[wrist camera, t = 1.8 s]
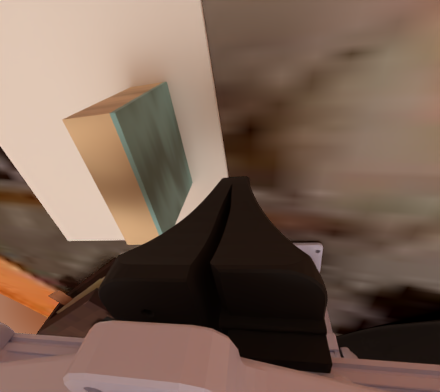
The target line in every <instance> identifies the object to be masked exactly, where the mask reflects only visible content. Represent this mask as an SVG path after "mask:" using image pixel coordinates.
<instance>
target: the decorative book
mask: <svg viewBox="0 0 440 392" xmlns="http://www.w3.org/2000/svg"><path fill="white" fill-rule="evenodd" d="M115 260H116V258H114V259H113V260H112V261H110V262H109V263H107V264H106V265H105V266H103V267H102V268H101V269H99V270H98V271H97V272H95V273H94V274H93V275H91V276H90V277H89V278H87V279H86V280H84V281H83V282H82V283H80V284H79V285H78V286H76V287H75V288H74V289H72V290H71V291H70V292H68V293H67V294H65V293H63V292H61V291H60V290H58V291H56V292H54V293H52V294H51V295H49V297H51V298H52V299H54V300H56V301H57V302H59V304H58V305H57V306H56V308H55V309H54V310H53V312H52V313H51V315H50V316H49V317H48V319H47V320H46V321H45V323H44V324H43V326H42V327H41V329H40V330H39V331H38V333H37V334H36V335H49V336H62V337H76V338H85V337H86V335H87V333H88V332H89V330H90V329H91V328H92V327H93V326H94V325H95V324H96V323H99V322H104V321H113V320H114V321H115V319H114V318H113V317H112V315H111V314H110V313H109V311H108V310H107V309H106V307H105V306H104V305H103V303H102V302H101V300H100V298H99V294H98V289H99V287H100V284H101V283H102V281H103V279H104V278H105V276H106V275H107V273H108V271H109V270H110V268H111V266H112V265H113V263H114V262H115Z"/></svg>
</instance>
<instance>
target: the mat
mask: <svg viewBox="0 0 440 392" xmlns="http://www.w3.org/2000/svg"><path fill="white" fill-rule="evenodd" d="M161 82H167V85H168V89H169V92H170V96H171V100H172V104H173V108H174V112H175V116H176V120H177V124H178V128H179V131H180V135H181V139H182V143H183V147H184V151H185V155H186V159H187V163H188V167H189V170H190V174H191V178H192V182H193V183H192V186H191V188H190V190H189V193H188V195H187V197H186V200H185V202H184V205H183V207H182V209H181V212H180V214H179V216H178V219H177V221H176V223H175V225H176V224H177V223H179V222H180V221H181V220H183V219H184V218H185V217H186V216H188V215H189V214H190V213H191V212H192V211H193V210H194V209H195V208H196V207H197V206H198V205H199V204H200V203H201V202H202V201H203V200H204V199H205V198H206V197H207V196H208V195H209V194H210V192H211V191H212V190H213V189H214V188H215V186H216V185H217V184H218V183H219V182H220V180H221V179H222V178H228V177H229V175H228V169H227V163H226V156H225V150H224V143H223V137H222V130H221V124H220V117H219V111H218V104H217V98H216V91H215V85H214V78H213V72H212V66H211V59H210V53H209V46H208V40H207V33H206V27H205V20H204V14H203V7H202V1H201V0H0V146H1V148H2V149H3V150H4V152H5V153H6V155H7V156H8V157H9V159H10V160H11V162H12V163H13V164H14V166H15V167H16V169H17V170H18V171H19V173H20V174H21V176H22V177H23V178H24V180H25V181H26V183H27V184H28V185H29V187H30V188H31V190H32V191H33V192H34V194H35V195H36V197H37V198H38V199H39V201H40V202H41V204H42V205H43V206H44V208H45V209H46V211H47V212H48V213H49V215H50V216H51V218H52V219H53V220H54V222H55V223H56V225H57V226H58V227H59V229H60V230H61V232H62V233H63V234H64V236H65V237H66V239H67V240H68V241H97V240H125V239H124V237H123V235H122V233H121V231H120V229H119V227H118V225H117V223H116V222H115V220H114V218H113V216H112V214H111V212H110V210H109V208H108V206H107V204H106V203H105V201H104V199H103V197H102V195H101V193H100V191H99V189H98V187H97V185H96V183H95V182H94V180H93V178H92V176H91V174H90V172H89V170H88V168H87V166H86V164H85V163H84V161H83V159H82V157H81V155H80V153H79V151H78V149H77V147H76V145H75V143H74V142H73V140H72V138H71V136H70V134H69V132H68V130H67V128H66V126H65V124H64V123H63V121H62V119H64V118H66V117H69V116H71V115H73V114H75V113H77V112H79V111H81V110H83V109H85V108H88V107H90V106H92V105H94V104H96V103H98V102H100V101H102V100H105V99H107V98H109V97H111V96H113V95H115V94H117V93H119V92H121V91H124V90H126V89H128V88H130V87H135V86H142V85H148V84H154V83H161Z"/></svg>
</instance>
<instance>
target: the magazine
mask: <svg viewBox="0 0 440 392" xmlns="http://www.w3.org/2000/svg"><path fill="white" fill-rule="evenodd" d="M336 339H337V343H338V347H339V352H340V348H341V347H347V348H349V350H350V352H352V353H353V354H355V355H356V356H357V358H358V359H368V360H381V361H394V362H408V363H421V364H434V365H440V319H438V320H429V321H420V322H411V323H402V324H391V325H384V326H378V327H373V328H368V329H364V330H360V331H356V332H352V333H348V334H345V335H341V336H337V337H336ZM340 355H341V352H340Z"/></svg>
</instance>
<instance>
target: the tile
mask: <svg viewBox="0 0 440 392" xmlns="http://www.w3.org/2000/svg"><path fill="white" fill-rule="evenodd" d="M62 121H63V123H64V124H65V126H66V128H67V130H68V132H69V134H70V136H71V138H72V140H73V142H74V143H75V145H76V147H77V149H78V151H79V153H80V155H81V157H82V159H83V161H84V163H85V164H86V166H87V168H88V170H89V172H90V174H91V176H92V178H93V180H94V182H95V183H96V185H97V187H98V189H99V191H100V193H101V195H102V197H103V199H104V201H105V203H106V204H107V206H108V208H109V210H110V212H111V214H112V216H113V218H114V220H115V222H116V223H117V225H118V227H119V229H120V231H121V233H122V235H123V237H124V239H125V241H126V243H127V244H128V245H135V244H145V243H147V242H149V241H150V240H152V239H154V238H156V237H157V236H159V235H161V234H163V233H164V232H166V231H167V230H169V229H170V228H171V227H173V226H174V225H175V223H176V221H177V219H178V216H179V214H180V212H181V209H182V207H183V205H184V202H185V200H186V197H187V195H188V193H189V190H190V188H191V186H192V183H193V182H192V178H191V174H190V170H189V167H188V163H187V159H186V155H185V151H184V147H183V143H182V139H181V135H180V131H179V128H178V124H177V120H176V116H175V112H174V108H173V104H172V100H171V96H170V92H169V89H168V85H167V82H161V83H154V84H148V85H142V86H135V87H130V88H128V89H126V90H124V91H121V92H119V93H117V94H115V95H113V96H111V97H109V98H107V99H105V100H102V101H100V102H98V103H96V104H94V105H92V106H90V107H88V108H85V109H83V110H81V111H79V112H77V113H75V114H73V115H71V116H69V117H66V118H64V119H62Z"/></svg>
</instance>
